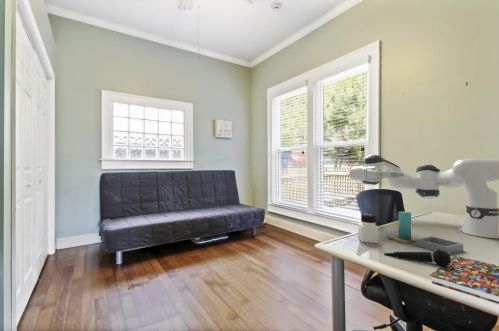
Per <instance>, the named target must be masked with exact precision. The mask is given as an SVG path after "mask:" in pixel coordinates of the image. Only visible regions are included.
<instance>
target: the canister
mask: <svg viewBox="0 0 499 331" xmlns="http://www.w3.org/2000/svg"><path fill="white" fill-rule="evenodd" d="M398 236H399V238H400V239H404V240H411V236H412V212H410V211H398Z"/></svg>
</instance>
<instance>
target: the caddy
mask: <svg viewBox="0 0 499 331" xmlns="http://www.w3.org/2000/svg"><path fill="white" fill-rule="evenodd" d="M418 238H419V237H418ZM414 243H415V246H416V247H420V248H422V249H425V250H426V249H427V250H429V251H433V252H434V251H436V250H437V249H440V250H442V251H446V252H447V253H448V254H449V255H451V254H452V255H453V254H455V253H460V252H463V251H464V243H461V242H457V241H454V240H453V241H452V240H449V239H444V238H441V237H438V236H427V237H420V238H419V239H416V240H415V242H414Z"/></svg>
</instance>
